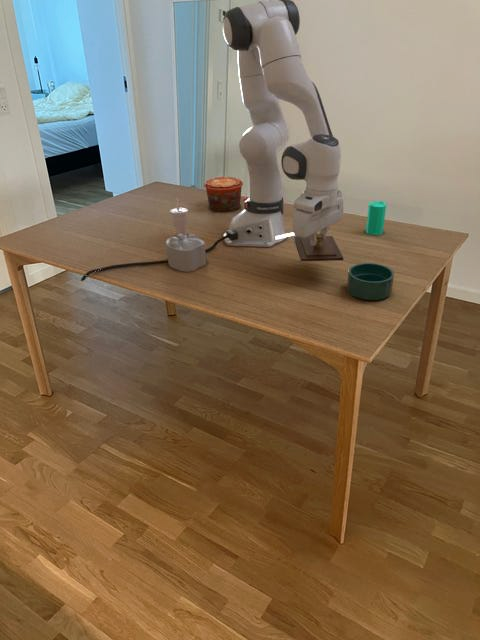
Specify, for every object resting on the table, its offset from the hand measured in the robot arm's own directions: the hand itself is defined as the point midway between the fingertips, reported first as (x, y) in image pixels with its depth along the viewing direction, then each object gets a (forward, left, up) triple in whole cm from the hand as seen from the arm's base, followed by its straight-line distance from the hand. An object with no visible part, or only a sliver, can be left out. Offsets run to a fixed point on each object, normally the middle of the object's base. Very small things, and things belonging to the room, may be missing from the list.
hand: (317, 242), depth 145 cm
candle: (+26, +31, -10) cm, 42 cm away
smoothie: (-44, +36, -10) cm, 58 cm away
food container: (-28, +66, -10) cm, 73 cm away
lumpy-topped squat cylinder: (-41, +12, -10) cm, 44 cm away
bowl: (+13, -13, -10) cm, 21 cm away
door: (0, 0, -2) cm, 2 cm away
